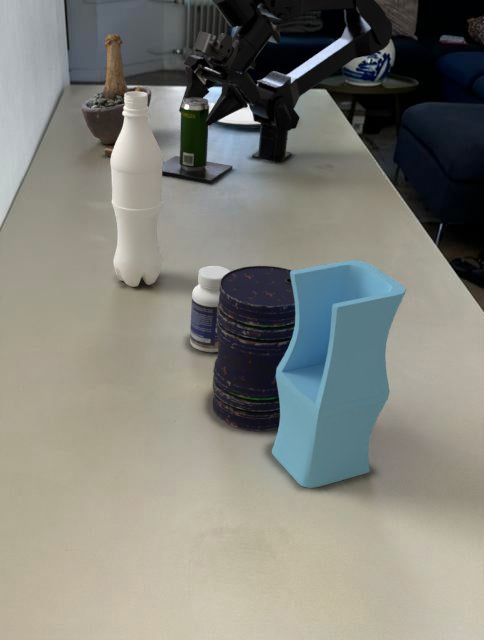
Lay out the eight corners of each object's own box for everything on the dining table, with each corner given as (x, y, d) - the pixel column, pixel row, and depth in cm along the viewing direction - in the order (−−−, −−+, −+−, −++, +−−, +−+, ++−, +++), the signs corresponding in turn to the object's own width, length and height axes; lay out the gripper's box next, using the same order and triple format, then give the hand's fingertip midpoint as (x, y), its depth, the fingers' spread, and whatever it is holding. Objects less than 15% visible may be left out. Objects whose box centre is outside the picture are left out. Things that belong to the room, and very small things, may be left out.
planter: (151, 129, 174) (151, 27, 161) (153, 151, 162) (153, 42, 149) (86, 129, 174) (80, 27, 161) (83, 151, 161) (77, 42, 148)
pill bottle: (218, 357, 97) (223, 285, 90) (182, 346, 99) (184, 274, 92) (238, 340, 100) (244, 269, 94) (202, 329, 102) (206, 259, 96)
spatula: (232, 170, 153) (233, 159, 152) (210, 184, 146) (211, 173, 145) (119, 149, 162) (119, 139, 161) (94, 162, 156) (94, 152, 155)
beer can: (202, 172, 149) (205, 105, 141) (176, 170, 150) (177, 102, 142) (209, 164, 153) (212, 98, 145) (183, 161, 154) (185, 96, 146)
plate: (291, 133, 173) (292, 123, 172) (200, 131, 173) (200, 122, 172) (281, 109, 189) (282, 100, 187) (198, 108, 189) (198, 99, 188)
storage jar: (235, 439, 83) (246, 314, 74) (196, 394, 90) (202, 274, 80) (312, 419, 86) (333, 296, 77) (269, 377, 93) (284, 259, 83)
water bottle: (168, 273, 116) (171, 90, 99) (152, 293, 110) (152, 103, 94) (124, 266, 117) (119, 85, 101) (106, 285, 112) (99, 98, 96)
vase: (266, 448, 82) (289, 270, 69) (328, 431, 85) (361, 257, 71) (304, 490, 77) (337, 307, 64) (369, 472, 79) (413, 291, 66)
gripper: (193, 5, 142) (143, 78, 145) (252, 20, 130) (196, 99, 133) (225, 49, 151) (177, 117, 154) (283, 67, 139) (229, 141, 142)
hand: (193, 118), depth 145 cm, fingers open, 9 cm apart
